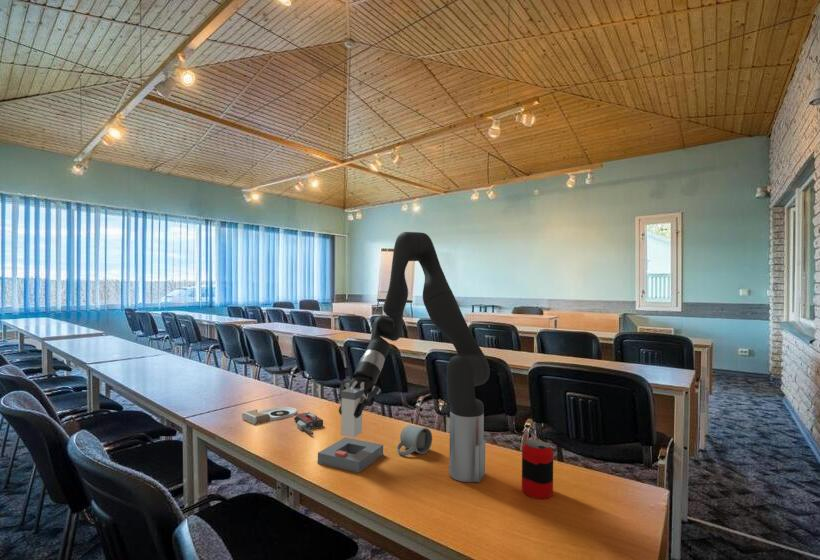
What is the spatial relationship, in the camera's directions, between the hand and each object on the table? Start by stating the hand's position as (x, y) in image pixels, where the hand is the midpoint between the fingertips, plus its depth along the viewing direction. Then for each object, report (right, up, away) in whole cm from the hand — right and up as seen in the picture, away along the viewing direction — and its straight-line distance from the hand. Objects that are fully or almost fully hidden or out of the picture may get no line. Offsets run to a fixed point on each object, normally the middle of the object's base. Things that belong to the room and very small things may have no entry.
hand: (348, 415), depth 122 cm
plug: (+1, -6, +2) cm, 6 cm away
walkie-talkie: (-18, -14, +29) cm, 37 cm away
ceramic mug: (+19, -14, +8) cm, 25 cm away
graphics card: (-36, -14, +41) cm, 57 cm away
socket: (+1, -13, +1) cm, 14 cm away
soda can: (+50, -14, -17) cm, 55 cm away
